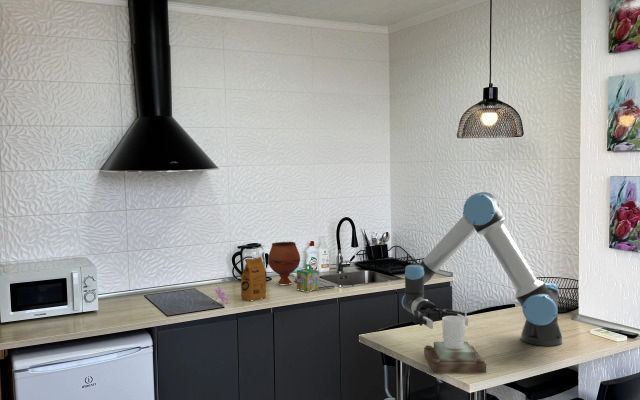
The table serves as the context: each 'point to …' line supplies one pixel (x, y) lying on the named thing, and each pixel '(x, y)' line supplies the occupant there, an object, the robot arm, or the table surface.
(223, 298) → the lily
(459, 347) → the white cup
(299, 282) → the colorful lantern
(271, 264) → the goblet
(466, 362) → the plinth
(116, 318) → the table surface
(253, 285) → the coffee package
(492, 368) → the table surface
